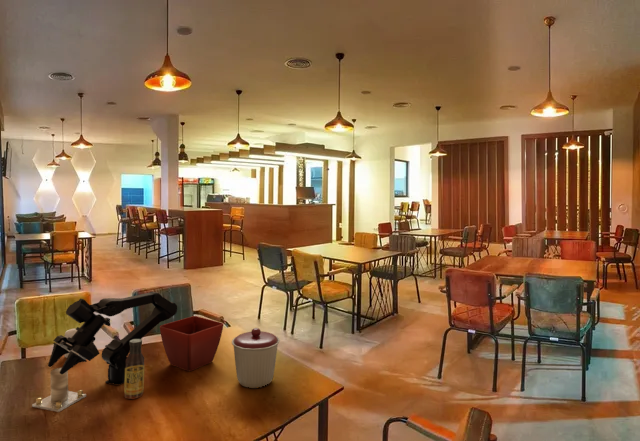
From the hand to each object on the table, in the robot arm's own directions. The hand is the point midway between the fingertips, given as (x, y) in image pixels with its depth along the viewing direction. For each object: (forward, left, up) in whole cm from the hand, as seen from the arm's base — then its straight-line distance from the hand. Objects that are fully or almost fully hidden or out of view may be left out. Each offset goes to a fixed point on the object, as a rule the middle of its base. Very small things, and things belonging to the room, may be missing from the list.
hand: (54, 370), depth 137 cm
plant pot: (-24, -43, -12) cm, 51 cm away
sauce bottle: (-21, -12, -12) cm, 27 cm away
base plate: (0, -1, -11) cm, 12 cm away
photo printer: (+27, -34, -12) cm, 45 cm away
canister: (-57, -35, -12) cm, 69 cm away
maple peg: (0, -1, -11) cm, 11 cm away
